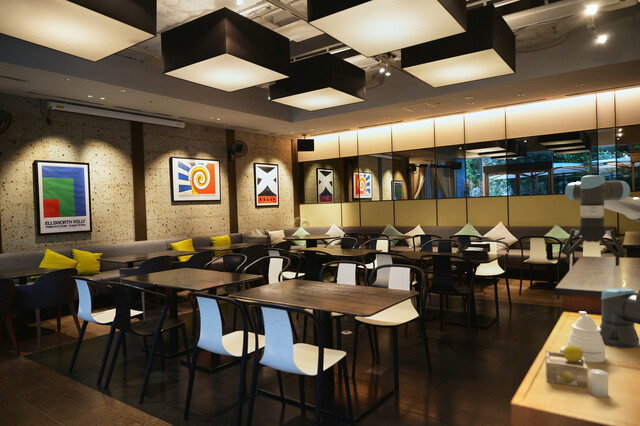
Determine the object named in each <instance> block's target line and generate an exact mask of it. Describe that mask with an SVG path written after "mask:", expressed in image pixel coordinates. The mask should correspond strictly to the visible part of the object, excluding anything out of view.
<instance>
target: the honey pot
mask: <svg viewBox="0 0 640 426" xmlns="http://www.w3.org/2000/svg"><path fill="white" fill-rule="evenodd" d="M578 315H579V316H580V317H579V318H578V319H577V320H576V322H575V323H572V325H571V329H572V330H571V331H570V332H569V333H570V335H569V336H568V339H567V342H566V343H567V345H566V347H567V346H570V345H575V346H578V347H579V348H580V349H581V350H582V352H583V356H584V359H585V362H587V363H602V362H605V361H606V344H604V343H603V340H602V336H601V335H600V331H601V328H600V326H598V325H597V324H596V321H594V319H593V318H592V317H591V316H590V315H588V314H587V311H584V310H583V311H582V310H581V311H580V310H579V311H578Z"/></svg>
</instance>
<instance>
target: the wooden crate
mask: <svg viewBox="0 0 640 426" xmlns="http://www.w3.org/2000/svg"><path fill="white" fill-rule="evenodd" d="M588 369H589V368H588V365H587V363H586V361H585V359H584V356H582V358H581V359H580V360H579V361H578V362H570V361H568V360H566V359H565V357H564V355H563V353H560V352H557V351H548V350H545V375H546V382H547V381H550V382H549V383H553V382H556V383H555V384H560V383H561V385H566V384H567V386H568V385H569V386H574V387H580V388H588V383H589V382H588V379H589V378H588V377H589V376H588V374H589V373H588Z"/></svg>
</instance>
